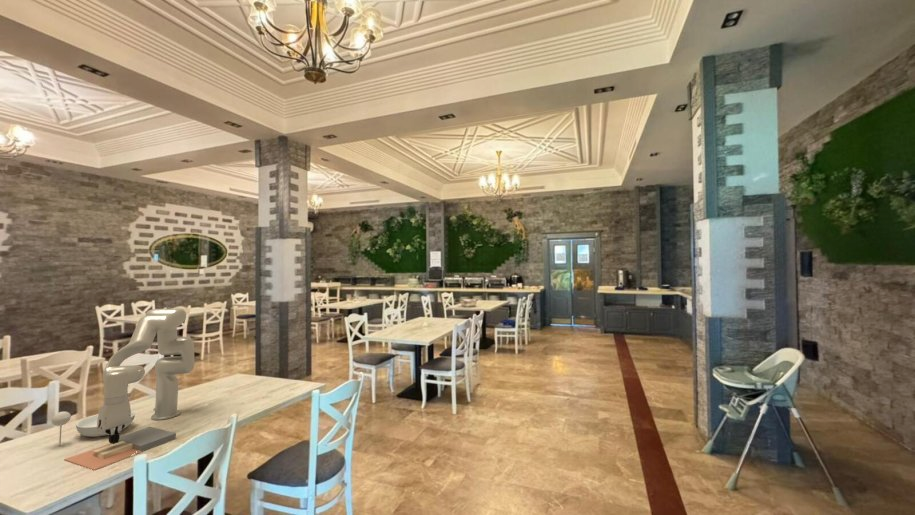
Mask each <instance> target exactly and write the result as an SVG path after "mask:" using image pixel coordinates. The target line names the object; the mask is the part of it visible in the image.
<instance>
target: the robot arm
mask: <svg viewBox="0 0 915 515" xmlns="http://www.w3.org/2000/svg"><path fill="white" fill-rule="evenodd" d="M186 319H187V312H186V311H185V310H184V309H183V308H153V309H149V310H147V311H146V313H145V315H143V316H142V317H140V318H139V320H138V322H137V325H136V327H135V328H134V330H133V333H132V336H131V338H130V340H129V341H128V343H127V344H126V345H124V346H123V347H121V348H119V349H118V350H117V351H115V353H114V354H113V355H111V357H110V358H109V359H108V361H107V363H106V365H105V367H104V370H103V372H102V375H101V377H102V381H103V386H104V387H103V404H101V405H100V407H99V410H98V413H97V415H98V420H97V428H99V430H98V433H100V434H101V433H107V434H109V435H108V442H109V444H110V443H111V444H115V443H118V440H119V437H120V436H121V435H120V433H122V431H123V430H124V429H125V428H124V427H125V426H127V425H129V424H130V420H131V411H132V410H131V409H132V408H131V403H130V400H129V397H131V396H132V394H131V393H128V387H129V386H128V385H130V384H134V383H137V382H139V381H140V380H142V379H143V378H144V376H145V374H146V371H145V370H146V369H145V368H144V367H143V366H141V365H121V364H122V363H123V362H124V361H125V360H127V359H128V358H130V357H132V356H135V355H137V354H140V353H143V352H145V351H147V350H149V349H150V348H151V347H152V345H153V344H154V343H153V342H154V340H155V337H156V336H157V337H156V338H157V340H156V341H157V351H158V354H159V355H161V356H162V357H161V358H160V357H159V359H157V360H156V362H155V363H154V372H155V380H156V381H155V403H154V404H155V405H154V407H153V409H152V410H153V412H154V413H153V414H152V415H151V416H150V419H151V420H153V421H161V420H168V419H171V418H176V417H177V416H180V414H181V413H182V412H181V410H180V409H178V401H179V400H178V399H179V397H178V396H179V379H178V377H177V376H176V375H188V374H190V373H191V372H193V370H194V369H195V342H194V340H193V338H191V337H189V336H178V327H179V326H181V325H183V323H184V322H185V321H186ZM163 356H164V357H163ZM130 425H131V424H130ZM130 425H129V426H130ZM114 427H115V430H114ZM123 428H124V429H123ZM122 429H123V430H122Z"/></svg>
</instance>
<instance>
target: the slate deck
mask: <svg viewBox="0 0 915 515" xmlns="http://www.w3.org/2000/svg"><path fill="white" fill-rule="evenodd" d="M176 439H177V433H176V432H174V431H169V430H165V429H161V428H157V427H152V426H148V427H144V428H141V429H138V430H135V431H132V432H129V433H126V434H123V435H120V436H119V440H118V442H120V441H124V442H127V443H131V444H133V448H132V449H136V450H139V451H142V450H144V451H147V450H149V449H152V448H154V447H157V446H159V445H163V444H165V443H168V442H171V441H173V440H176ZM142 452H143V451H142Z"/></svg>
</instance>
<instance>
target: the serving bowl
mask: <svg viewBox="0 0 915 515" xmlns="http://www.w3.org/2000/svg"><path fill="white" fill-rule="evenodd" d="M135 417H136V412H135V411H133V410H131V420H130V424H129V425H127V426H125V427H124V428H123V429H122V430H121V431H123V430H124V429H126V428H128V427H129V426H130V425H131V424H132V423H133V421H134V419H135ZM97 420H98V414H95V415H91V416H88V417H85V418H82V419H80V420H78V421H77V422H76V424H75V428H76V431H77V433H78V434H79V435H82V436H85V437H104V436H109V434H107V433H101V434H100V433H98V430H99V428H97ZM114 430H115V427H114Z"/></svg>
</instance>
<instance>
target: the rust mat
mask: <svg viewBox="0 0 915 515" xmlns="http://www.w3.org/2000/svg"><path fill="white" fill-rule="evenodd" d="M109 445H112V444H111V443H110V442H109V443H108V444H105V445H102V446H99V447H96V448H93V449H90V450H87V451H84V452H82V453H78V454H75V455H73V456H69V457H66V458H64V459H63V460H64V461H65V462H68V463H71V464H75V465H77V466H79V465H80V467H82V466H83V468H85V467H86V469H88V468H89V469H88V470H91V469H92V470H91V471H94V470H95V471H97V470H100V469H102V468H104V466H105V467H107V466H106V465H108V466H110V465H113V464H115V462H116V463H118V462H120V460H121V461H123V460H125V459H124V458H126V457H129V458H131V457H132V456H131V455H132V454H134V453H135V454H136V455H139V454H141V453H140V452H142V453H143V451H139V450H136V449H130V450H128V451H125V452H122V453H119V454H117V455H114V456H111V457H108V458H106V459H101V458H98V457H95V456H93V451H94V450H97V449H100V448H103V447H106V446H109ZM136 451H137V453H136ZM130 456H131V457H130ZM122 459H123V460H122ZM126 459H127V458H126ZM117 461H118V462H117ZM112 463H113V464H112ZM109 464H110V465H109ZM101 467H102V468H101ZM99 468H100V469H99ZM96 469H97V470H96Z"/></svg>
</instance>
